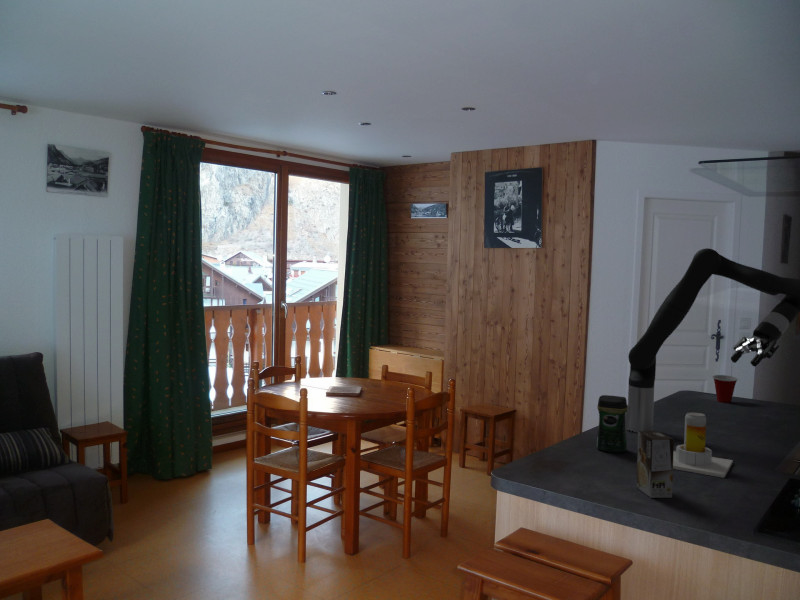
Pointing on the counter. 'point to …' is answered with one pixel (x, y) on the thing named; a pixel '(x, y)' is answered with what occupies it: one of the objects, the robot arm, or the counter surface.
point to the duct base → (706, 470)
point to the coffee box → (655, 464)
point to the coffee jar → (612, 423)
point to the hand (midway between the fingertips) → (742, 362)
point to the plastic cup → (724, 387)
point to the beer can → (695, 432)
